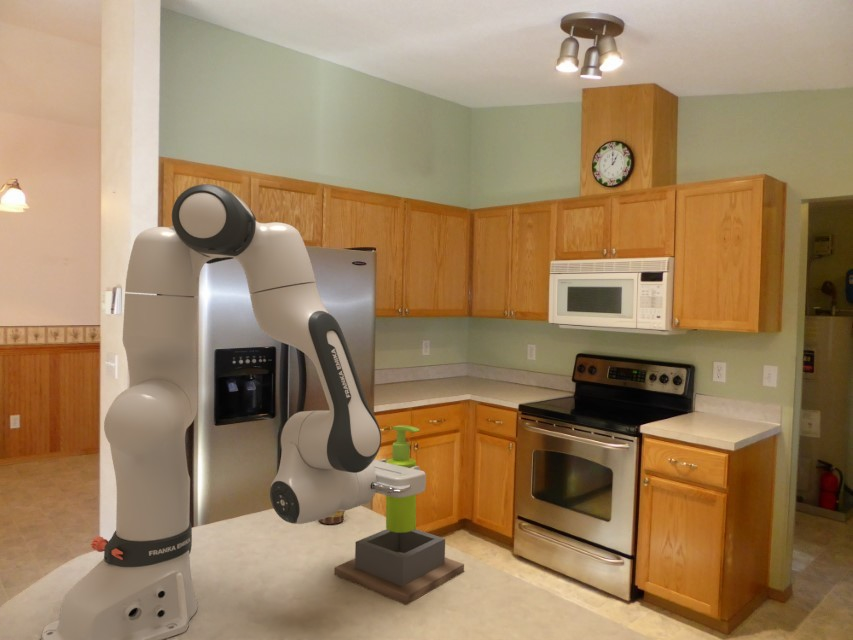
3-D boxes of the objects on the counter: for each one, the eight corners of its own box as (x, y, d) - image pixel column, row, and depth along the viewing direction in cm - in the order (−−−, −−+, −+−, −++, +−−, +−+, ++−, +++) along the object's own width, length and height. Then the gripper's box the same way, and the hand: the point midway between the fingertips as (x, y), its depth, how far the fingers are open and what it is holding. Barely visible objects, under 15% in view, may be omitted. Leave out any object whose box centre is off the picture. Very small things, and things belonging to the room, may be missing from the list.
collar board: (406, 605, 105) (407, 568, 105) (334, 574, 116) (335, 541, 116) (463, 571, 120) (464, 538, 120) (395, 547, 131) (395, 517, 131)
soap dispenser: (408, 535, 114) (408, 430, 114) (380, 528, 118) (380, 426, 118) (426, 527, 119) (426, 425, 119) (398, 520, 123) (398, 422, 123)
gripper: (397, 474, 102) (445, 459, 113) (315, 454, 114) (365, 442, 125) (396, 511, 102) (444, 493, 113) (314, 487, 114) (364, 473, 125)
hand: (402, 466), depth 119 cm, fingers closed on soap dispenser, 6 cm apart
